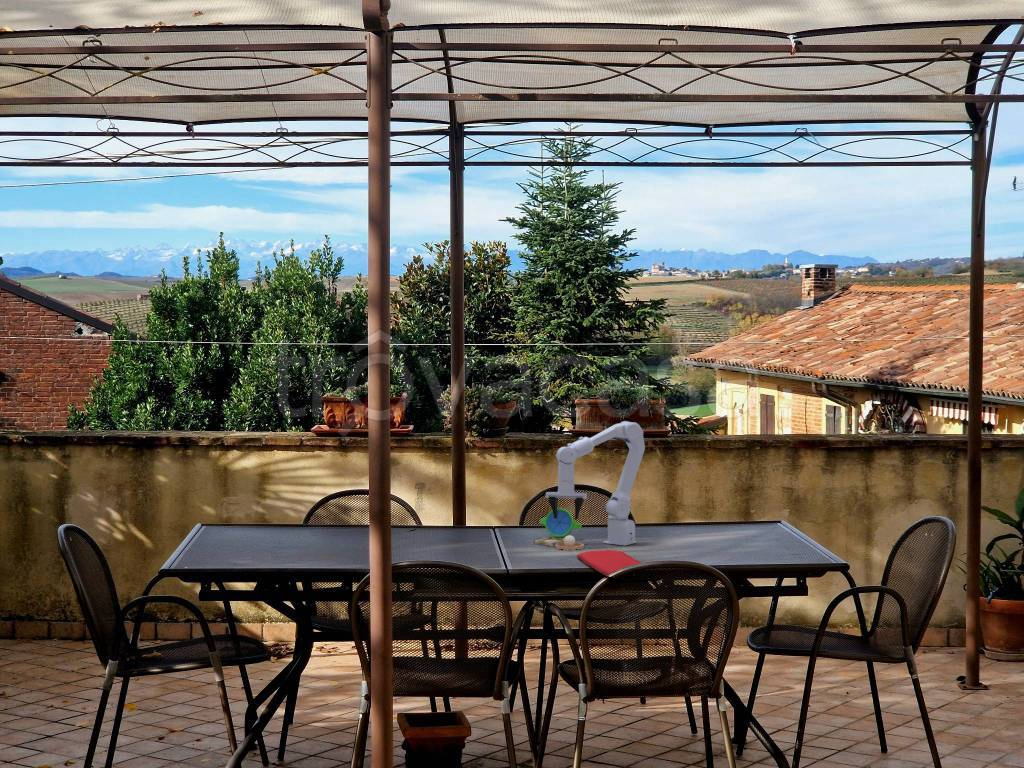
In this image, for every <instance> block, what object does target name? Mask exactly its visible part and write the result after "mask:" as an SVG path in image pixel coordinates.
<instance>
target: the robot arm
mask: <svg viewBox="0 0 1024 768" xmlns="http://www.w3.org/2000/svg"><path fill="white" fill-rule="evenodd" d="M613 438H614V439H615V438H621V439H622V440H623V441H624V442H625V443H626V445H627V447H628V453H627V456H626V459H625V462H624V465H623V468H622V471H621V474H620V477H619V480H618V483H617V486H616V490H615V491H614V492H613V493H612V494H611V496H610V499H609V500H608V501H607V502H606V504H605V511H606V512H607V514H608V516H607V540H605V541H602V543H603V544H610V545H617V546H618V545H620V546H627V545H628V546H629V545H632V544H636V543H637V541H636V523H635V521H634V520H632V519H629V515H630V512H631V508H630V507H631V506H630V505H631V501H632V499H631V493H632V490H633V486H634V483H635V480H636V477H637V474H638V471H639V467H640V465H641V463H642V459H643V456H644V454H645V449H646V445H645V438H644V430H643V429H642V427H641V426H640V424H638V423H637V422H635V421H634V422H631V421H627V420H624V421H623V420H622V421H621V422H620V423H615V424H613V425H612V426H610V427H608V428H606V429H604V430H602V431H601V432H599V433H597V434H595V435H593V436H591V437H588V436H584V437H583V436H580V437H578V440H576V441H574V442H572V443H567V446H562V447H560V448H558V450H557V451H556V454H555V457H556V459H557V461H558V462H557V463H558V467H557V468H558V469H557V491H548V492H545V499H547V500H548V503H549V505H550V508H551V511H553V514H554V519H556V518H557V517H558V512H557V509H558V503H559V499H574V520H579V517H580V516H579V515H580V512H581V509H582V505H583V503H584V501H585V500H586V499H587V497H588V495H587V492H586V493H585V492H575V468H574V467H575V462H576V460H577V459H579V458H581V457H583V456H585V455H588V454H589V453H591V452H593V450H594V448H595V446H598V445H600V444H602V443H605V442H606V441H609V440H611V439H613Z"/></svg>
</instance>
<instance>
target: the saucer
mask: <svg viewBox="0 0 1024 768" xmlns="http://www.w3.org/2000/svg"><path fill="white" fill-rule="evenodd" d="M555 548H556V550H559V549H563V550H562V551H575V550H574V549H581V550H583V549H582V548H584V549H585V544H584V543H581V542H576V541H575V544H574V545H573V546H571V547H568V546H566V545H565V543H564V542H562V543H557V544H555V546H554V549H555Z"/></svg>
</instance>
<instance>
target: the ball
mask: <svg viewBox="0 0 1024 768" xmlns="http://www.w3.org/2000/svg"><path fill="white" fill-rule="evenodd" d="M563 538H564V543H565V545H566V546H568V547H571V546H573V545H574V544H575V542H576V539H575V538H576V537H574V536H573V535H571V534H569V535H568V536H566V537H563Z"/></svg>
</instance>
